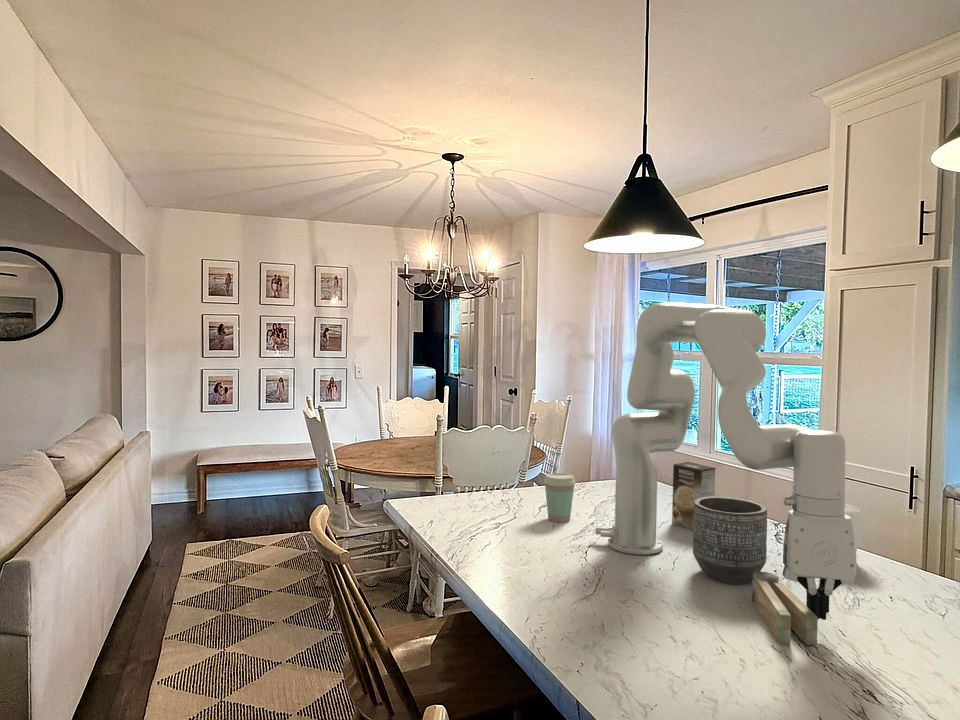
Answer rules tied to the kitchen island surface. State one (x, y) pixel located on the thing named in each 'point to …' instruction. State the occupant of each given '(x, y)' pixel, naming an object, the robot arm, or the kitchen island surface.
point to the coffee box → (690, 490)
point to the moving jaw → (798, 614)
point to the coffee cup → (559, 496)
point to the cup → (854, 521)
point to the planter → (729, 538)
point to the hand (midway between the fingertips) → (817, 616)
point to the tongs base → (771, 606)
